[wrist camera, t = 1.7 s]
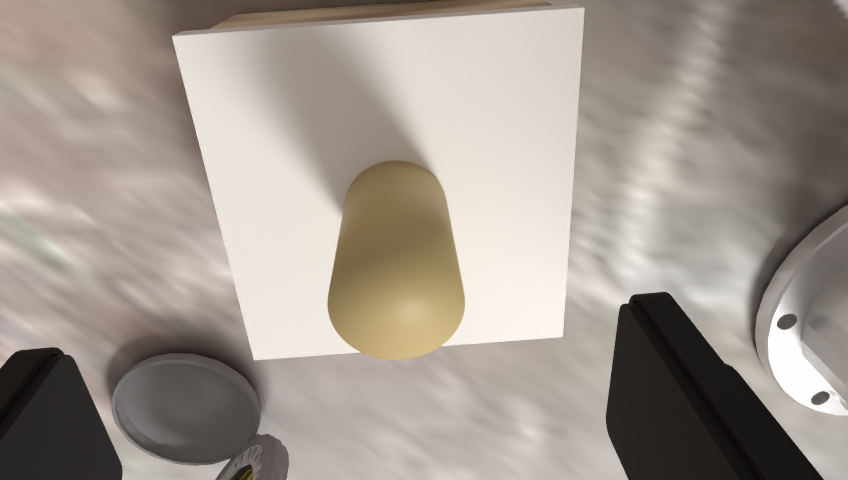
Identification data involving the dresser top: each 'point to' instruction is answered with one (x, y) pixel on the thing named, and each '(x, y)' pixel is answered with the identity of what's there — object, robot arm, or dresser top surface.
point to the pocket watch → (197, 417)
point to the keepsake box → (371, 11)
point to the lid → (392, 175)
